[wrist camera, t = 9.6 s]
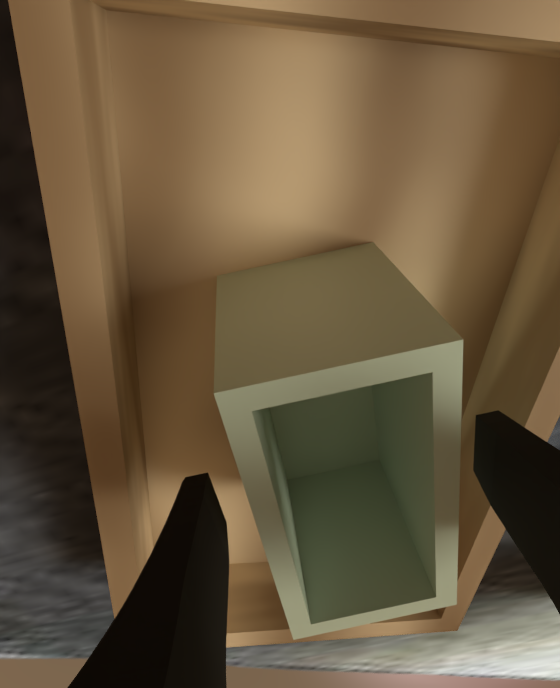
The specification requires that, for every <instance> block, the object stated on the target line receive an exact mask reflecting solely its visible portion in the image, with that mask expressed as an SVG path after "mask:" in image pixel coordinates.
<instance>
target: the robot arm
mask: <svg viewBox="0 0 560 688" xmlns="http://www.w3.org/2000/svg"><path fill="white" fill-rule="evenodd" d="M473 471H474V473H475V475H476V477H477V479H478V481H479V483H480V485H481V487H482V490H483V491H484V493H485V495H486V497H487V499H488V501H489V503H490V505H491V507H492V508H493V510H494V511H495V513H496V515H497V516H498V518H499V519H500V521H501V522H502V524H503V525H504V527H505V528H506V530H507V532H508V533H509V535H510V536H511V538H512V539H513V541H514V542H515V544H516V545H517V547H518V548H519V550H520V551H521V553H522V554H523V556H524V557H525V559H526V560H527V562H528V563H529V565H530V566H531V568H532V569H533V571H534V572H535V574H536V576H537V577H538V579H539V580H540V582H541V583H542V585H543V586H544V588H545V590H546V591H547V593H548V595H549V596H550V598H551V599H552V601H553V603H554V605H555V606H556V608H557V610H558V612H559V614H560V450H558V449H557V448H555V447H554V446H552V445H550V444H549V443H547V442H546V441H544V440H543V439H541V438H540V437H538V436H537V435H535V434H534V433H532V432H531V431H529V430H528V429H526V428H525V427H523V426H522V425H520V424H519V423H517V422H516V421H514V420H513V419H511V418H510V417H508V416H507V415H505V414H503V413H502V412H500V411H499V410H497V411H493V412H488V413H483V414H479V415H476V419H475V440H474V461H473ZM228 588H229V546H228V533H227V522H226V519H225V517H224V514H223V511H222V509H221V506H220V503H219V501H218V498H217V495H216V493H215V490H214V487H213V485H212V482H211V479H210V477H209V474H208V472H207V473H203V474H198V475H193V476H189V477H185V478H184V480H183V481H182V484H181V486H180V489H179V491H178V494H177V496H176V499H175V501H174V504H173V506H172V509H171V511H170V513H169V516H168V518H167V520H166V522H165V525H164V527H163V529H162V531H161V533H160V535H159V538H158V540H157V542H156V544H155V546H154V548H153V550H152V552H151V554H150V556H149V558H148V560H147V562H146V564H145V566H144V568H143V570H142V572H141V573H140V575H139V577H138V579H137V581H136V583H135V585H134V587H133V589H132V590H131V592H130V594H129V596H128V597H127V599H126V601H125V602H124V604H123V606H122V608H121V609H120V611H119V613H118V614H117V616H116V617H115V619H114V621H113V622H112V624H111V625H110V627H109V629H108V630H107V632H106V633H105V635H104V636H103V638H102V639H101V641H100V642H99V644H98V645H97V647H96V648H95V650H94V651H93V653H92V654H91V656H90V657H89V659H88V660H87V662H86V663H85V665H84V666H83V667H82V669H81V670H80V671H79V673H78V674H77V676H76V677H75V678H74V680H73V681H72V682H71V684H70V685H69V686H68V688H226V636H227V612H228Z"/></svg>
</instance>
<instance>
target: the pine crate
mask: <svg viewBox="0 0 560 688" xmlns="http://www.w3.org/2000/svg"><path fill="white" fill-rule="evenodd" d="M8 2H9V8H10V14H11V20H12V26H13V31H14V37H15V43H16V49H17V55H18V60H19V66H20V72H21V78H22V84H23V90H24V95H25V101H26V107H27V113H28V119H29V124H30V130H31V136H32V142H33V148H34V154H35V159H36V165H37V171H38V177H39V183H40V188H41V194H42V200H43V206H44V212H45V217H46V223H47V229H48V235H49V241H50V247H51V252H52V258H53V264H54V270H55V276H56V281H57V287H58V293H59V299H60V305H61V311H62V316H63V322H64V328H65V334H66V340H67V345H68V351H69V357H70V363H71V369H72V374H73V380H74V386H75V392H76V398H77V404H78V409H79V415H80V421H81V427H82V433H83V438H84V444H85V450H86V456H87V462H88V468H89V473H90V479H91V485H92V491H93V497H94V502H95V508H96V514H97V520H98V526H99V531H100V537H101V543H102V549H103V555H104V561H105V566H106V572H107V578H108V584H109V590H110V595H111V601H112V607H113V613H114V619H115V617H116V616H117V614H118V613H119V611H120V609H121V608H122V606H123V604H124V602H125V601H126V599H127V597H128V596H129V594H130V592H131V590H132V589H133V587H134V585H135V583H136V581H137V579H138V577H139V575H140V573H141V572H142V570H143V568H144V566H145V564H146V562H147V560H148V558H149V556H150V554H151V552H152V550H153V548H154V546H155V544H156V542H157V540H158V538H159V535H160V533H161V531H162V529H163V527H164V525H165V522H166V520H167V518H168V516H169V513H170V511H171V509H172V506H173V504H174V501H175V499H176V496H177V494H178V491H179V489H180V486H181V484H182V481H183V480H184V478H185V477H189V476H193V475H198V474H203V473H207V472H208V474H209V477H210V479H211V482H212V485H213V487H214V490H215V493H216V495H217V498H218V501H219V503H220V506H221V509H222V511H223V514H224V517H225V519H226V522H227V533H228V546H229V588H228V612H227V636H226V647H239V646H252V645H266V644H280V643H294V642H307V641H321V640H335V639H348V638H362V637H376V636H390V635H403V634H417V633H431V632H445V631H457V630H458V628H459V626H460V624H461V622H462V620H463V618H464V616H465V613H466V611H467V609H468V607H469V605H470V603H471V601H472V599H473V597H474V595H475V592H476V590H477V588H478V586H479V584H480V582H481V580H482V578H483V576H484V573H485V571H486V569H487V567H488V565H489V563H490V561H491V559H492V557H493V555H494V552H495V550H496V548H497V546H498V544H499V542H500V540H501V538H502V536H503V534H504V531H505V529H506V528H505V527H504V525H503V524H502V522H501V521H500V519H499V518H498V516H497V515H496V513H495V511H494V510H493V508H492V507H491V505H490V503H489V501H488V499H487V497H486V495H485V493H484V491H483V490H482V487H481V485H480V483H479V481H478V479H477V477H476V475H475V473H474V471H473V461H474V440H475V419H476V415H479V414H483V413H488V412H493V411H497V410H499V411H500V412H502V413H503V414H505V415H507V416H508V417H510V418H511V419H513V420H514V421H516V422H517V423H519V424H520V425H522V426H523V427H525V428H526V429H528V430H529V431H531V432H532V433H534V434H535V435H537V436H538V437H540V438H541V439H543V440H544V441H546V442H547V441H548V439H549V437H550V435H551V433H552V431H553V428H554V426H555V424H556V422H557V420H558V418H559V416H560V0H8ZM371 242H374V243H375V245H376V246H377V247H378V248H379V249H380V250H381V251H382V252H383V253H384V254H385V255H386V256H387V257H388V259H389V260H390V261H391V262H392V263H393V264H394V265H395V266H396V267H397V268H398V269H399V270H400V272H401V273H402V274H403V275H404V276H405V277H406V278H407V279H408V280H409V281H410V282H411V283H412V284H413V286H414V287H415V288H416V289H417V290H418V291H419V292H420V293H421V294H422V295H423V296H424V297H425V299H426V300H427V301H428V302H429V303H430V304H431V305H432V306H433V307H434V308H435V309H436V310H437V311H438V313H439V314H440V315H441V316H442V317H443V318H444V319H445V320H446V321H447V322H448V323H449V324H450V326H451V327H452V328H453V329H454V330H455V331H456V332H457V333H458V334H459V335H460V336H461V337H462V339H463V374H462V414H461V454H460V494H459V533H458V573H457V605H453V606H448V607H444V608H439V609H434V610H430V611H425V612H420V613H416V614H411V615H407V616H402V617H397V618H393V619H388V620H384V621H379V622H374V623H370V624H365V625H360V626H356V627H351V628H347V629H342V630H337V631H333V632H328V633H324V634H319V635H314V636H310V637H305V638H300V639H296V640H293V637H292V634H291V631H290V628H289V625H288V622H287V618H286V615H285V612H284V609H283V606H282V603H281V600H280V597H279V594H278V591H277V588H276V585H275V581H274V578H273V575H272V572H271V569H270V566H269V563H268V560H267V557H266V554H265V551H264V547H263V544H262V541H261V538H260V535H259V532H258V529H257V526H256V523H255V520H254V517H253V513H252V510H251V507H250V504H249V501H248V498H247V495H246V492H245V489H244V486H243V483H242V480H241V476H240V473H239V470H238V467H237V464H236V461H235V458H234V455H233V452H232V449H231V446H230V442H229V439H228V436H227V433H226V430H225V427H224V424H223V421H222V418H221V415H220V412H219V408H218V405H217V402H216V399H215V396H214V362H215V326H216V290H217V276H218V275H222V274H227V273H232V272H236V271H241V270H246V269H250V268H255V267H259V266H264V265H269V264H273V263H278V262H283V261H287V260H292V259H296V258H301V257H306V256H310V255H315V254H320V253H324V252H329V251H334V250H338V249H343V248H347V247H352V246H357V245H361V244H366V243H371Z"/></svg>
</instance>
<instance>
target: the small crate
mask: <svg viewBox="0 0 560 688" xmlns="http://www.w3.org/2000/svg"><path fill="white" fill-rule="evenodd" d="M462 374H463V339H462V337H461V336H460V335H459V334H458V333H457V332H456V331H455V330H454V329H453V328H452V327H451V326H450V324H449V323H448V322H447V321H446V320H445V319H444V318H443V317H442V316H441V315H440V314H439V313H438V311H437V310H436V309H435V308H434V307H433V306H432V305H431V304H430V303H429V302H428V301H427V300H426V299H425V297H424V296H423V295H422V294H421V293H420V292H419V291H418V290H417V289H416V288H415V287H414V286H413V284H412V283H411V282H410V281H409V280H408V279H407V278H406V277H405V276H404V275H403V274H402V273H401V272H400V270H399V269H398V268H397V267H396V266H395V265H394V264H393V263H392V262H391V261H390V260H389V259H388V257H387V256H386V255H385V254H384V253H383V252H382V251H381V250H380V249H379V248H378V247H377V246H376V245H375V243H374V242H371V243H366V244H361V245H357V246H352V247H347V248H343V249H338V250H334V251H329V252H324V253H320V254H315V255H310V256H306V257H301V258H296V259H292V260H287V261H283V262H278V263H273V264H269V265H264V266H259V267H255V268H250V269H246V270H241V271H236V272H232V273H227V274H222V275H218V276H217V290H216V326H215V362H214V396H215V399H216V402H217V405H218V408H219V412H220V415H221V418H222V421H223V424H224V427H225V430H226V433H227V436H228V439H229V442H230V446H231V449H232V452H233V455H234V458H235V461H236V464H237V467H238V470H239V473H240V476H241V480H242V483H243V486H244V489H245V492H246V495H247V498H248V501H249V504H250V507H251V510H252V513H253V517H254V520H255V523H256V526H257V529H258V532H259V535H260V538H261V541H262V544H263V547H264V551H265V554H266V557H267V560H268V563H269V566H270V569H271V572H272V575H273V578H274V581H275V585H276V588H277V591H278V594H279V597H280V600H281V603H282V606H283V609H284V612H285V615H286V618H287V622H288V625H289V628H290V631H291V634H292V637H293V640H296V639H300V638H305V637H310V636H314V635H319V634H324V633H328V632H333V631H337V630H342V629H347V628H351V627H356V626H360V625H365V624H370V623H374V622H379V621H384V620H388V619H393V618H397V617H402V616H407V615H411V614H416V613H420V612H425V611H430V610H434V609H439V608H444V607H448V606H453V605H457V573H458V533H459V494H460V454H461V414H462Z"/></svg>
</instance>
